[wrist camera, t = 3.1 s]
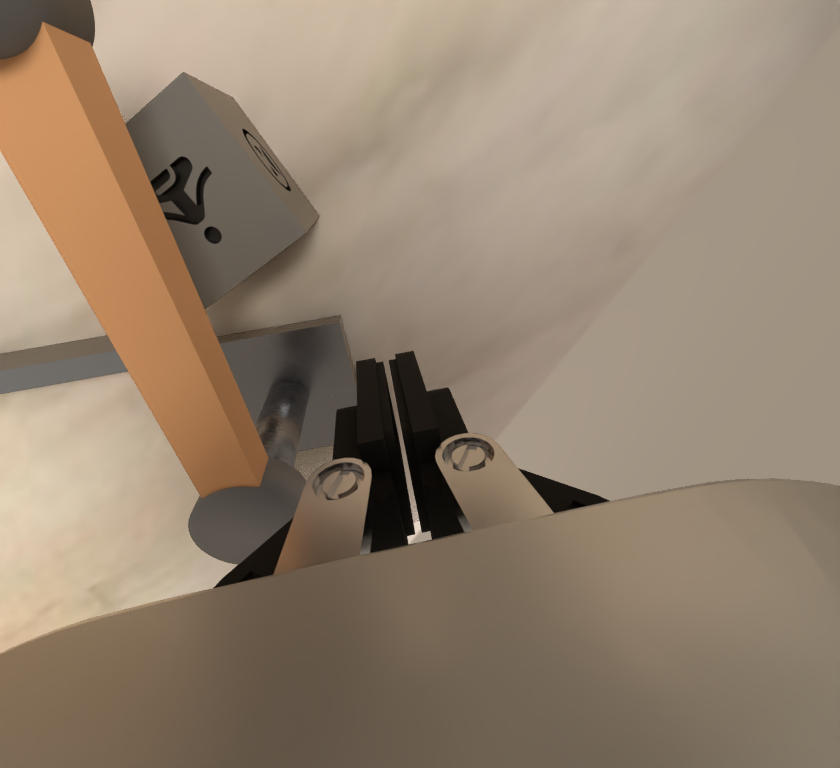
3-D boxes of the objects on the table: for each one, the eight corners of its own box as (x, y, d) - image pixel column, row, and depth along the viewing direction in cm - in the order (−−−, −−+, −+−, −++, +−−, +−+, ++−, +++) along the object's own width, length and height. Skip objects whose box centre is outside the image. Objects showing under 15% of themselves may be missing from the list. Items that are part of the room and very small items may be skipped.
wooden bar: (320, 518, 15) (314, 568, 14) (228, 536, 15) (209, 589, 13) (80, -112, 7) (-23, -213, 5) (-128, -87, 7) (-313, -181, 5)
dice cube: (234, 98, 15) (183, 71, 11) (319, 215, 17) (306, 232, 13) (140, 178, 16) (59, 184, 12) (234, 280, 18) (196, 316, 14)
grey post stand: (340, 315, 20) (329, 396, 13) (368, 427, 23) (371, 538, 16) (199, 340, 19) (111, 436, 13) (249, 450, 23) (201, 572, 16)
